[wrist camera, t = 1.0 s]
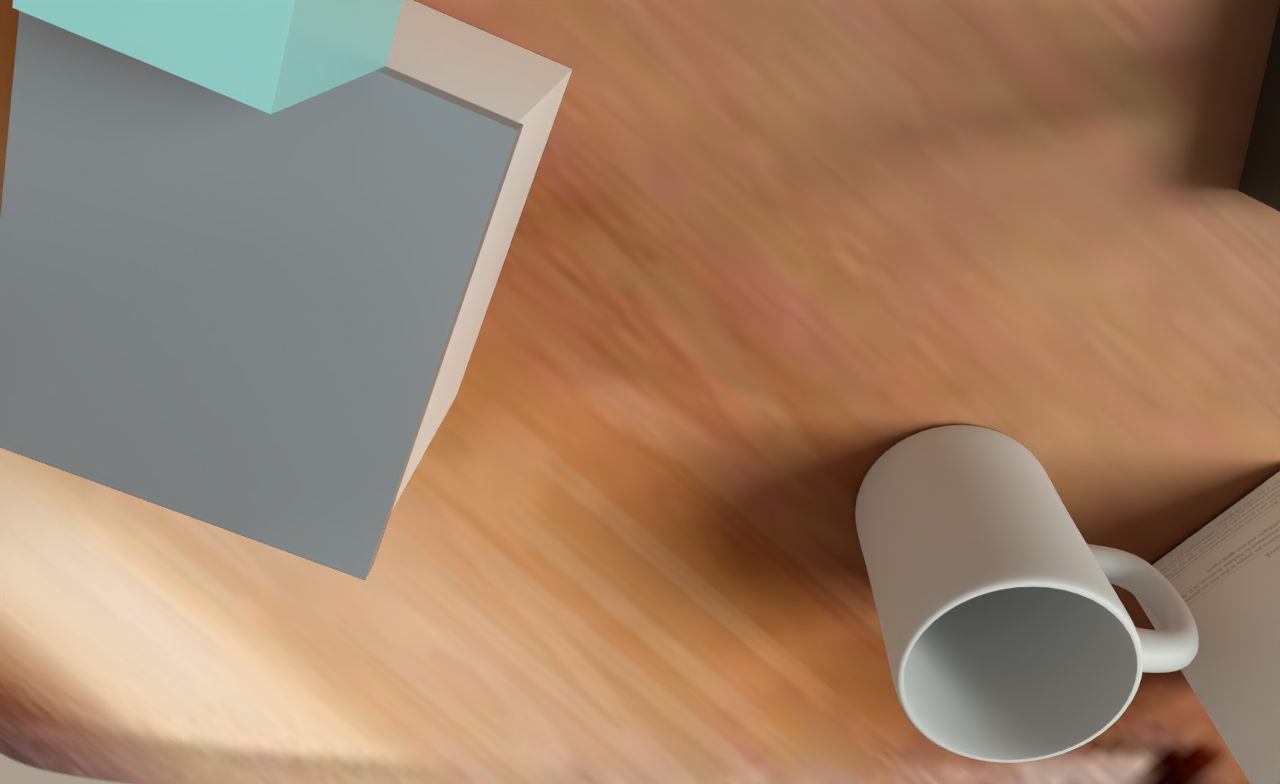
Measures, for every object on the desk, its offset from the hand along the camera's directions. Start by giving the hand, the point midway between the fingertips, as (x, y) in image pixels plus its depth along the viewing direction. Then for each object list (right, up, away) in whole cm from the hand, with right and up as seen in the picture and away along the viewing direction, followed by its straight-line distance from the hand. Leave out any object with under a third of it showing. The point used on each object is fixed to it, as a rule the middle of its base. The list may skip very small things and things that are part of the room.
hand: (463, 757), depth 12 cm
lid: (-9, +10, +16) cm, 21 cm away
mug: (+18, -1, +31) cm, 36 cm away
